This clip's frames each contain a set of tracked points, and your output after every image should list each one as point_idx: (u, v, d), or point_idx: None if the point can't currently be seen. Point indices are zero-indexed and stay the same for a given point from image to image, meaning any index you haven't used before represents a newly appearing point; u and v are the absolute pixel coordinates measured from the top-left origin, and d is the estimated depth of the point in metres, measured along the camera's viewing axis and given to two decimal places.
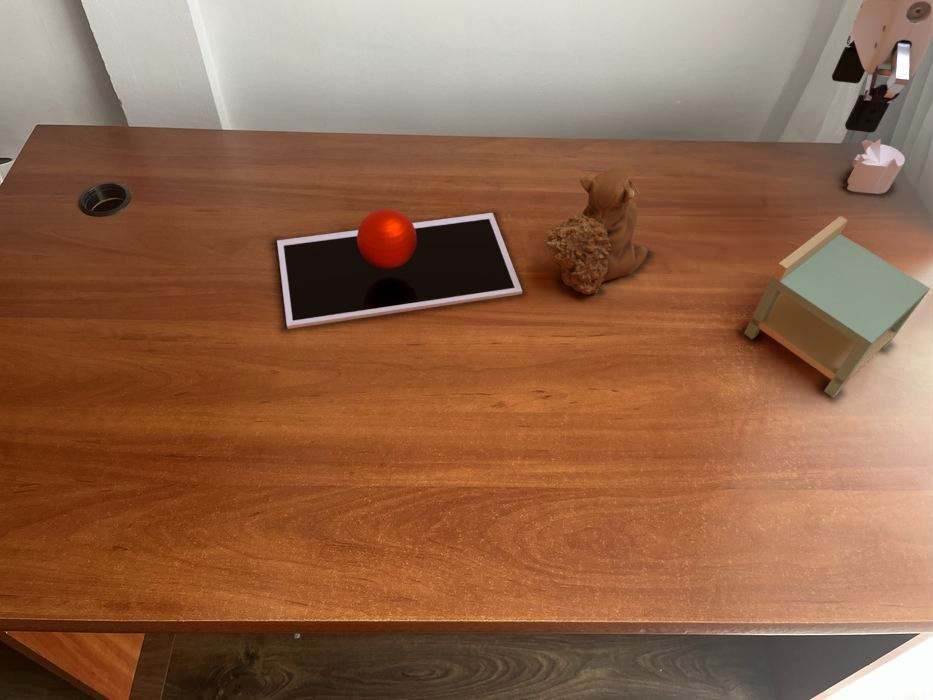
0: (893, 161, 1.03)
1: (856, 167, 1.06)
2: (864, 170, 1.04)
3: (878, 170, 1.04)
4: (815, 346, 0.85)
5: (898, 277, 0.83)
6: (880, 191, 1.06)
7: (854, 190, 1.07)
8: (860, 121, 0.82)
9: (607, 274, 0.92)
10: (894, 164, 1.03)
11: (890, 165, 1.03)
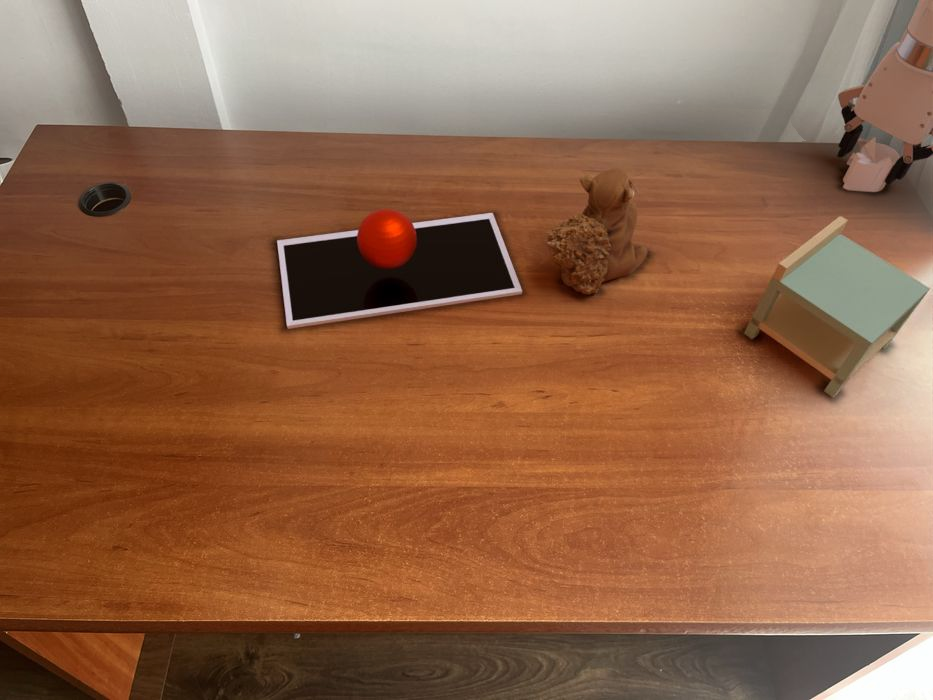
0: (888, 159, 1.03)
1: (851, 166, 1.06)
2: (860, 168, 1.04)
3: (874, 168, 1.04)
4: (815, 346, 0.85)
5: (898, 277, 0.83)
6: (876, 189, 1.07)
7: (850, 189, 1.07)
8: (901, 176, 1.04)
9: (607, 274, 0.92)
10: (889, 162, 1.03)
11: (885, 163, 1.04)
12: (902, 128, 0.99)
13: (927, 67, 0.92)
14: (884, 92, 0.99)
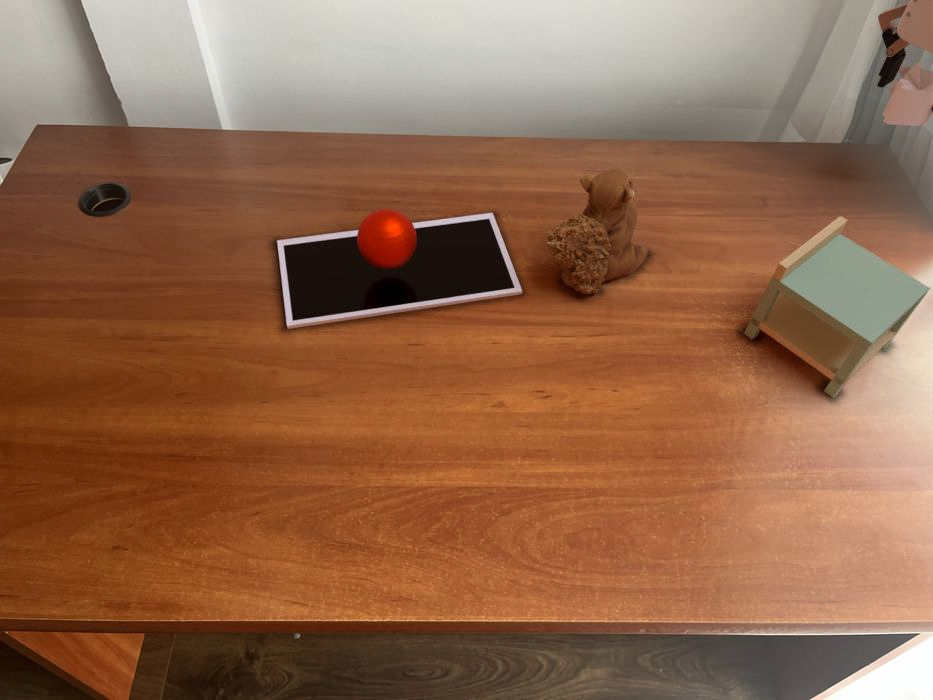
0: None
1: (893, 95, 0.97)
2: (904, 96, 0.95)
3: (919, 95, 0.95)
4: (815, 346, 0.85)
5: (898, 277, 0.83)
6: (921, 120, 0.98)
7: (892, 120, 0.98)
8: None
9: (607, 274, 0.92)
10: None
11: (932, 89, 0.95)
12: None
13: None
14: (931, 6, 0.90)
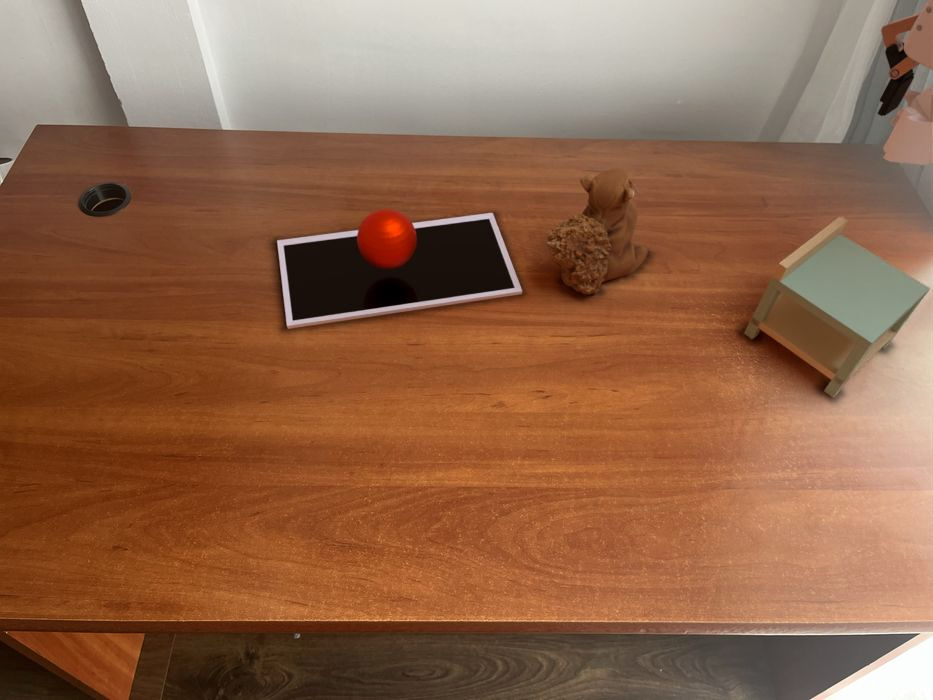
0: None
1: (897, 126, 0.79)
2: (910, 128, 0.77)
3: (929, 128, 0.76)
4: (815, 346, 0.85)
5: (898, 277, 0.83)
6: (930, 158, 0.79)
7: (895, 156, 0.79)
8: None
9: (607, 274, 0.92)
10: None
11: None
12: None
13: None
14: None
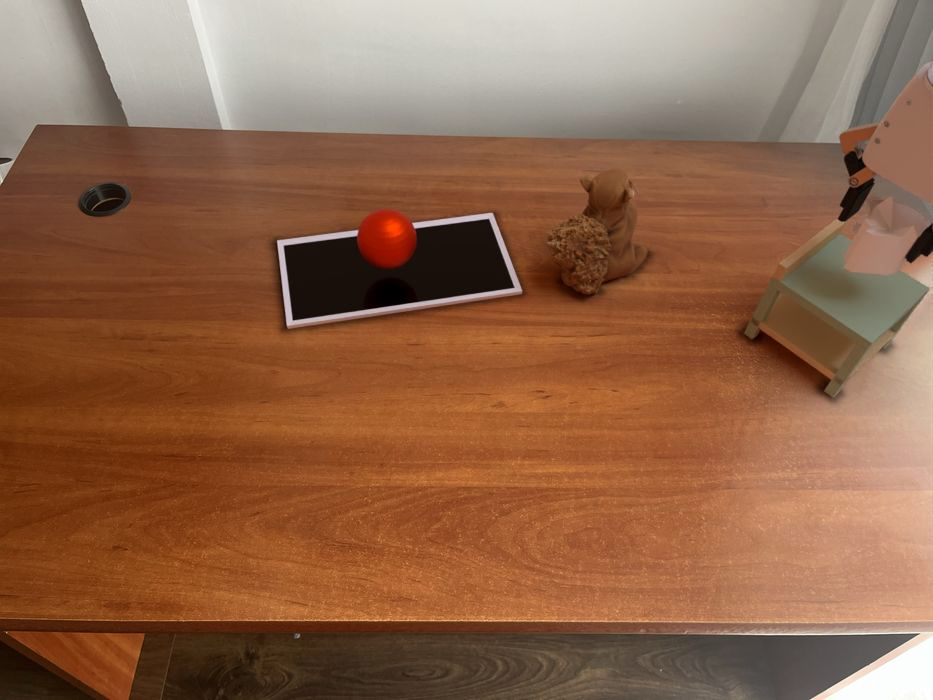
0: (911, 229, 0.72)
1: (857, 236, 0.75)
2: (870, 241, 0.73)
3: (890, 241, 0.73)
4: (815, 346, 0.85)
5: (898, 277, 0.83)
6: (892, 268, 0.76)
7: (855, 267, 0.76)
8: (929, 252, 0.73)
9: (607, 274, 0.92)
10: (912, 233, 0.72)
11: (907, 235, 0.73)
12: None
13: None
14: (907, 136, 0.67)
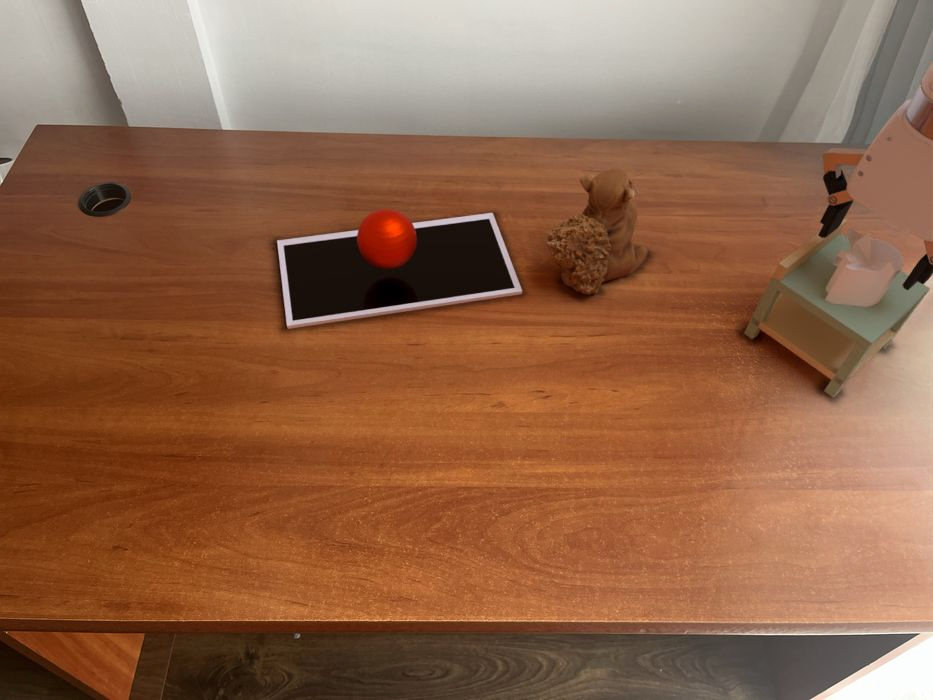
0: (888, 265, 0.76)
1: (838, 270, 0.79)
2: (849, 276, 0.77)
3: (868, 276, 0.76)
4: (815, 346, 0.85)
5: (898, 277, 0.83)
6: (871, 301, 0.79)
7: (836, 299, 0.79)
8: (925, 280, 0.75)
9: (607, 274, 0.92)
10: (890, 269, 0.76)
11: (884, 270, 0.76)
12: (913, 219, 0.71)
13: None
14: (888, 170, 0.70)
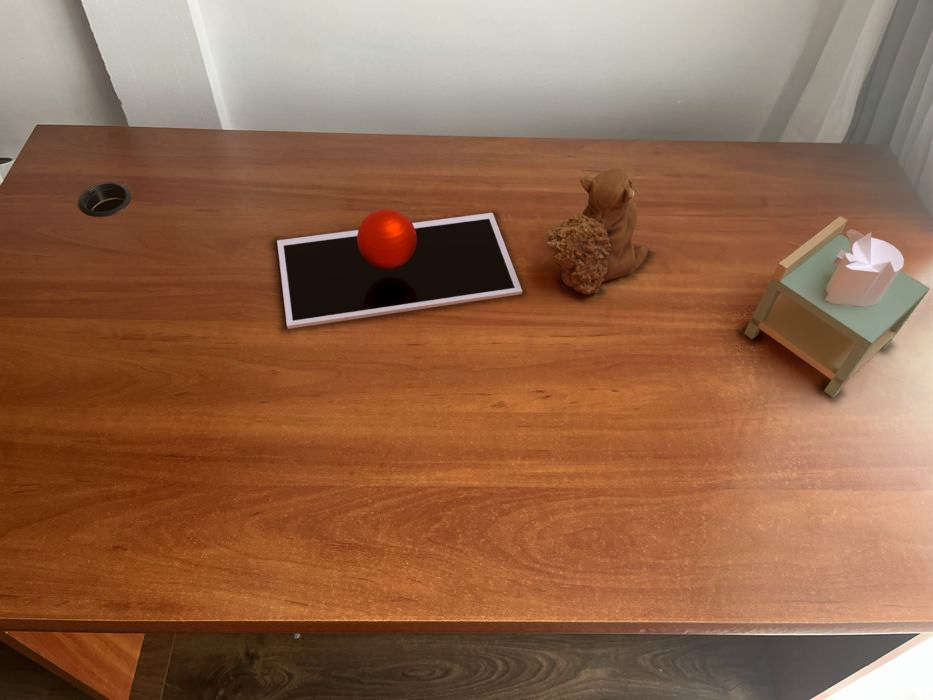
0: (888, 265, 0.76)
1: (838, 270, 0.79)
2: (849, 276, 0.77)
3: (868, 276, 0.76)
4: (815, 346, 0.85)
5: (898, 277, 0.83)
6: (871, 301, 0.79)
7: (836, 299, 0.79)
8: None
9: (607, 274, 0.92)
10: (890, 269, 0.76)
11: (884, 270, 0.76)
12: None
13: None
14: None
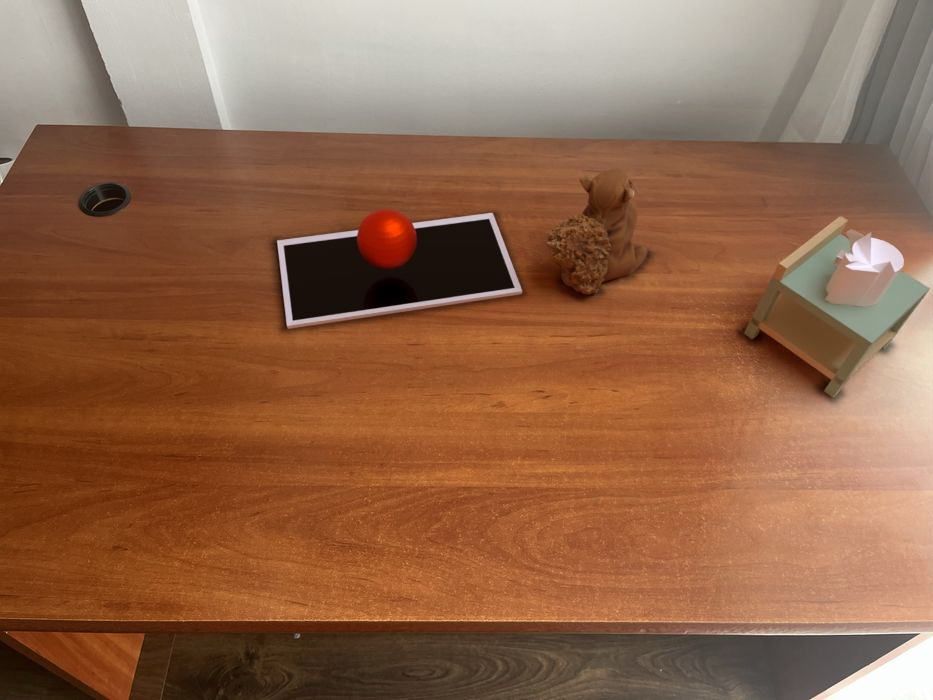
0: (888, 265, 0.76)
1: (838, 270, 0.79)
2: (849, 276, 0.77)
3: (868, 276, 0.76)
4: (815, 346, 0.85)
5: (898, 277, 0.83)
6: (871, 301, 0.79)
7: (836, 299, 0.79)
8: None
9: (607, 274, 0.92)
10: (890, 269, 0.76)
11: (884, 270, 0.76)
12: None
13: None
14: None
